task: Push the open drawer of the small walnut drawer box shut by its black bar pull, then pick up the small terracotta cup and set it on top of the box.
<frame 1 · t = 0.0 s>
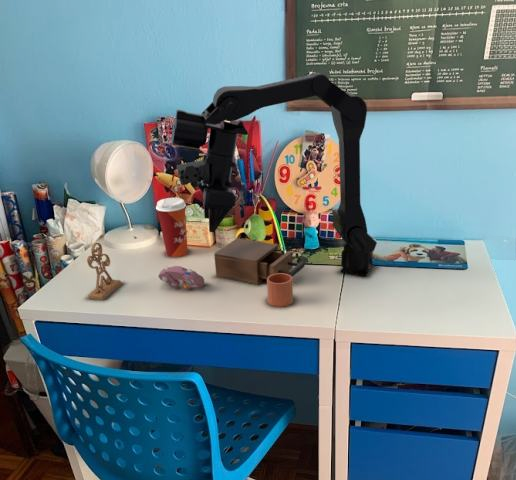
hand: (209, 224, 129), 15 cm above the table, tool pointing down, fingers open, 9 cm apart
wooden figurine: (105, 291, 139), on the table
cabinet: (247, 272, 144), on the table
paper cup: (177, 253, 157), on the table
purple toy car: (182, 288, 139), on the table
cup: (280, 301, 130), on the table
drawer: (271, 265, 139), point 3 cm above the table, slide at 3.0 cm
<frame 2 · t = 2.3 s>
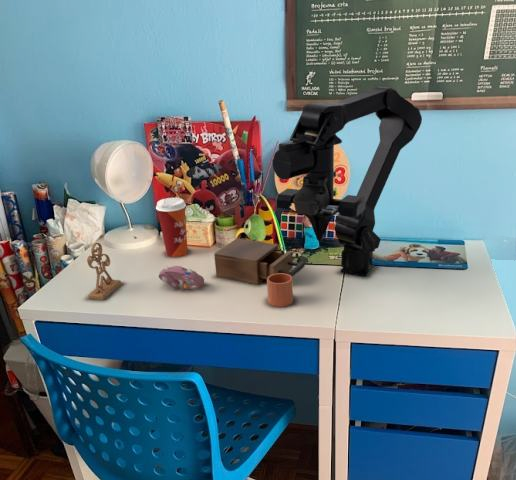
hand: (319, 240, 130), 11 cm above the table, tool pointing down, fingers closed
nothing on the table moved.
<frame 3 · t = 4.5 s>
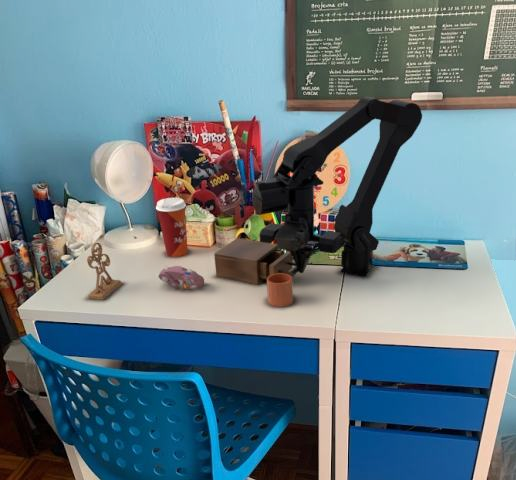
hand: (301, 272, 136), 3 cm above the table, tool pointing down, fingers closed
drawer: (271, 265, 139), point 3 cm above the table, slide at 2.9 cm, touching gripper
everything else where it was.
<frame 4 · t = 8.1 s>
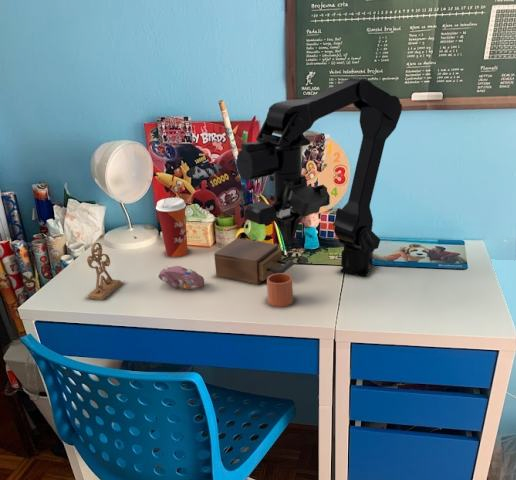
hand: (289, 243, 126), 12 cm above the table, tool pointing down, fingers closed
drawer: (260, 263, 141), point 3 cm above the table, slide at 0.0 cm
everything else where it was.
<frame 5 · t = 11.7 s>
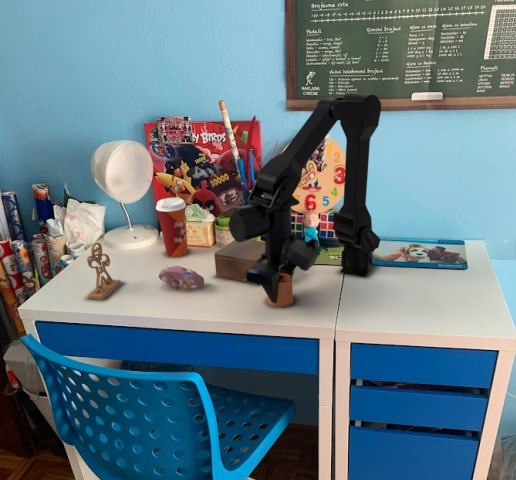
hand: (280, 296, 129), 1 cm above the table, tool pointing down, fingers closed on cup, 5 cm apart
cup: (280, 301, 130), on the table, touching gripper
everything else where it was.
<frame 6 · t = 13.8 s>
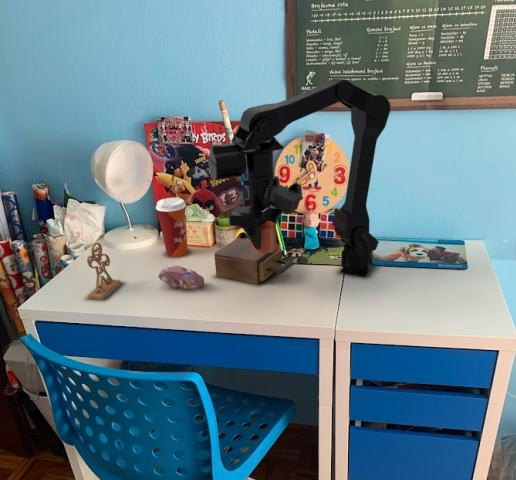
hand: (264, 244, 130), 11 cm above the table, tool pointing down, fingers closed on cup, 5 cm apart
cup: (264, 248, 130), point 10 cm above the table, touching gripper
everything else where it was.
when the fingers open (7 cm above the table, at t = 16.3 s): cup stays where it is, resting on cabinet.
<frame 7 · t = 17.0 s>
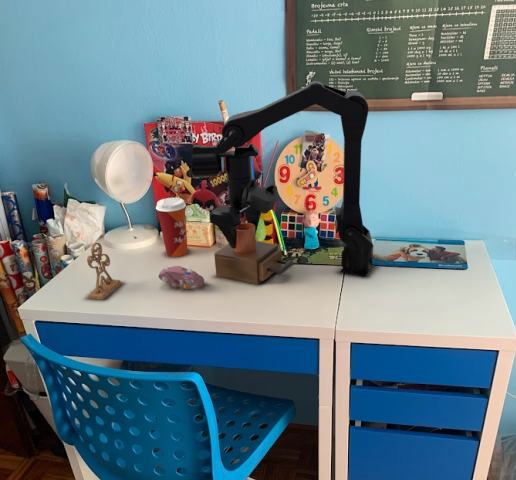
hand: (243, 241, 140), 8 cm above the table, tool pointing down, fingers open, 9 cm apart
cup: (244, 248, 141), point 6 cm above the table, touching cabinet
everything else where it was.
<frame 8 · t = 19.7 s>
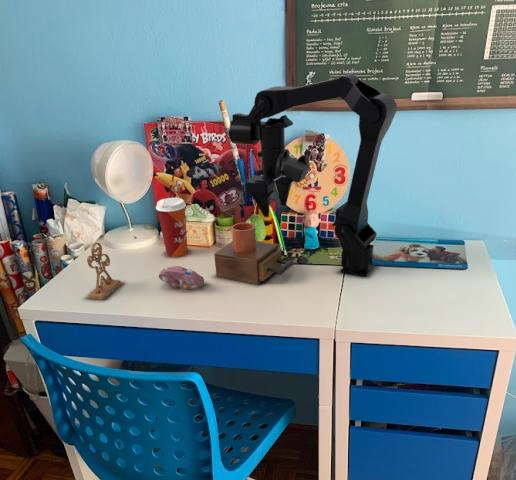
hand: (275, 211, 145), 12 cm above the table, tool pointing down, fingers open, 9 cm apart
nothing on the table moved.
at the end: drawer slide at 0.0 cm; cup inside the target area on the cabinet (0.2 cm from its centre), point 6.1 cm above the cabinet's base; cup tilted 0° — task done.
